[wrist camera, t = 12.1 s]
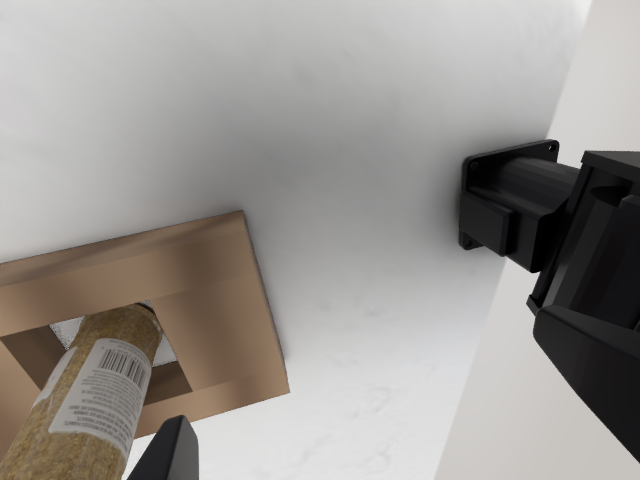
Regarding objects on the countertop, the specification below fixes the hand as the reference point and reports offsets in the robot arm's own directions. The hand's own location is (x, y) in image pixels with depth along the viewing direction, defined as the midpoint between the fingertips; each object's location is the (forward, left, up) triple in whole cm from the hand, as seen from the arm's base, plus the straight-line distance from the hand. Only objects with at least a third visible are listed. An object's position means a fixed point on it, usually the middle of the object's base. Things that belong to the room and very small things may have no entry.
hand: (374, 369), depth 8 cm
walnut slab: (+12, +6, -13) cm, 19 cm away
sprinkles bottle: (+12, +6, -13) cm, 19 cm away
